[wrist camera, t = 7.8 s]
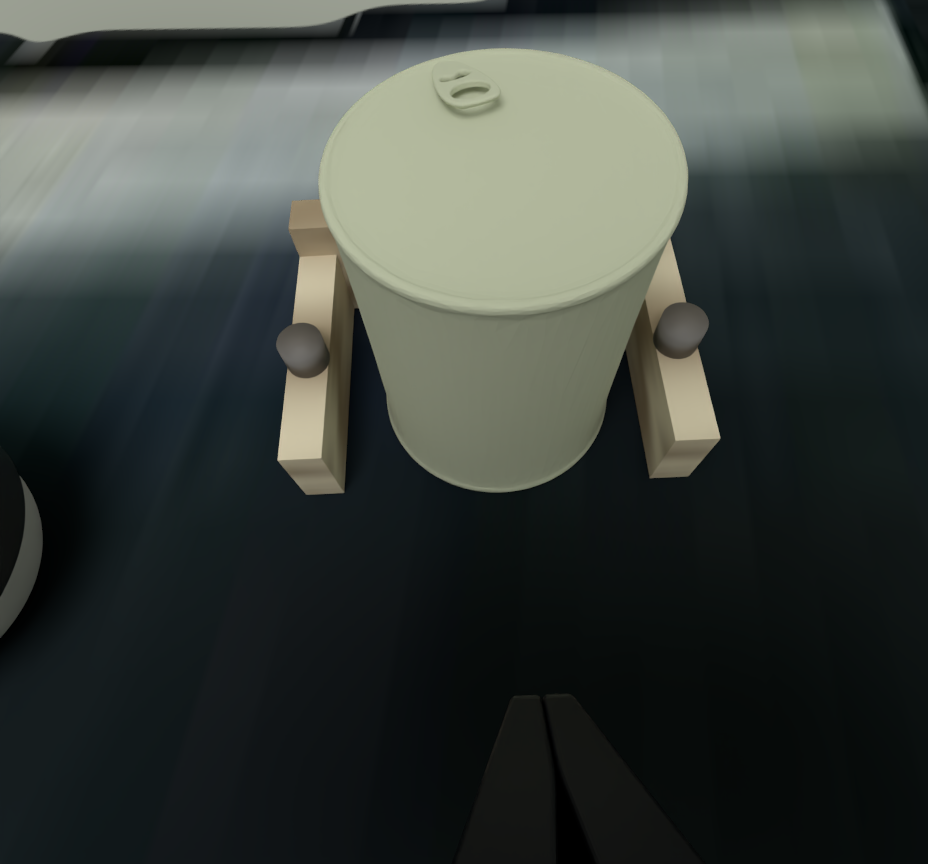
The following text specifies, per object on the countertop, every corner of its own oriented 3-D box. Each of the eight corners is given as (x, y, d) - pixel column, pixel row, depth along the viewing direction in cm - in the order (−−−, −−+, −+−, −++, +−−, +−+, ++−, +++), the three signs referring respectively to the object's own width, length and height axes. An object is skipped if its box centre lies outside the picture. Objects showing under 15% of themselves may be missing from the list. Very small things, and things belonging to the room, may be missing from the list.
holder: (689, 476, 23) (739, 418, 18) (305, 494, 23) (260, 442, 19) (643, 266, 27) (674, 178, 23) (323, 284, 28) (290, 201, 23)
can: (548, 278, 27) (587, -6, 16) (646, 444, 23) (780, 216, 13) (360, 343, 26) (269, 82, 15) (431, 528, 22) (377, 356, 11)
